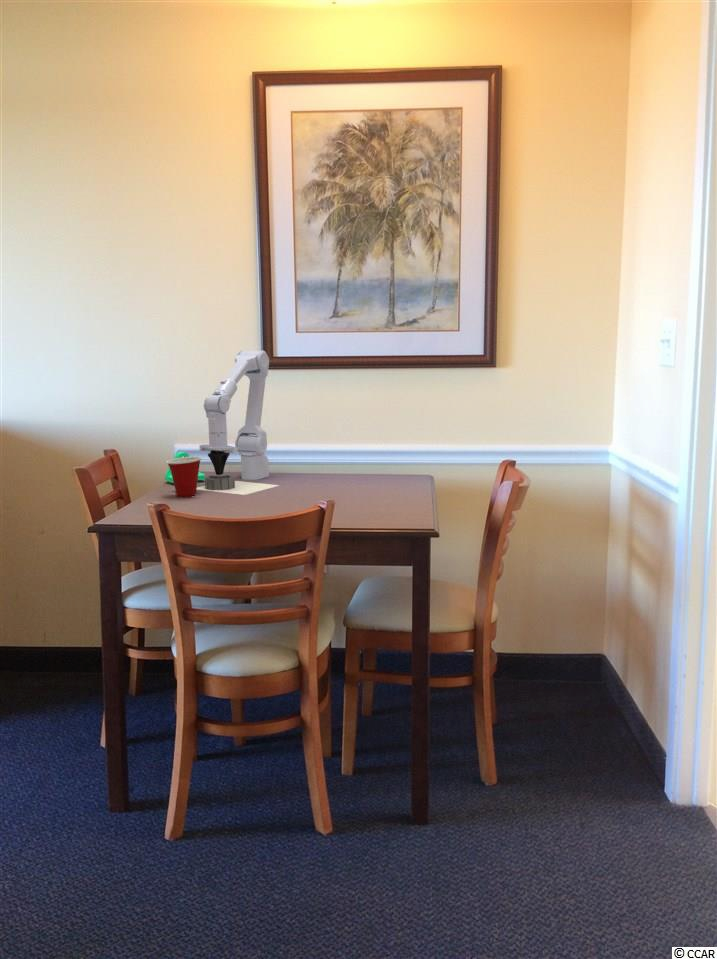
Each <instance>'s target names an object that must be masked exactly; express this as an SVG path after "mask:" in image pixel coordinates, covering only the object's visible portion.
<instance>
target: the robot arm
mask: <svg viewBox="0 0 717 959" xmlns="http://www.w3.org/2000/svg"><path fill="white" fill-rule="evenodd" d="M269 365H270V358H269V356H268V354H267V352H266V351H265V350H239V351H238V352H237V354H236V356H234V366H233V367H232V369H231V371H230V373H229V375H228V377H226V378H222V379H221V380H220V383H219V384H218V385H217V387H216V388H215V389H214V391H213V392H212V394H209V395H208V396H206V397H205V399H204V403H203V410H204V411H205V415H206V418H207V421H208V422H207V423H208V424H207V426H208V444H199V452H209V453H207V456H208V458H209V459H210V462H211V464H212V466H213V468H214V472H215V474H216V475H221V474H224V472H225V466H226V463H227V462H228V458H229V456H230V454H234V455H235V454H238V455H240V463H241V466H240V467H241V468H240V469H241V480H245V481H256V480H258V481H259V480H262V479H263V478H269V477H270V470H269V468H270V467H269V459H268V456H267V455H266V454H265V453H266V451H267V448H268V441H267V439H268V438H267V436H268V434H267V432H266V431H265V430H264V429H263V428H262V427H261V422H262V415H263V414H262V413H263V407H264V405H263V404H264V398H265V396H264V395H265V389H266V388H265V387H266V379H267V377H268V375H269V367H270V366H269ZM244 376H245V377H246V378H248V380H249V387H248V394H247V395H248V396H247V403H246V411H245V420H244V425H243V426H242V427H241V428H240V429H238V431H237V435H236V438H235V441H234V446H233V445H228V433H227V432H228V431H227V413H228V411H229V410H230V407H231V406H230V405H231V401H232V398H233V397H234V395H235V394H236V392H237V390H238V383H239V382H240V381H241V379H242V378H243V377H244Z"/></svg>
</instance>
